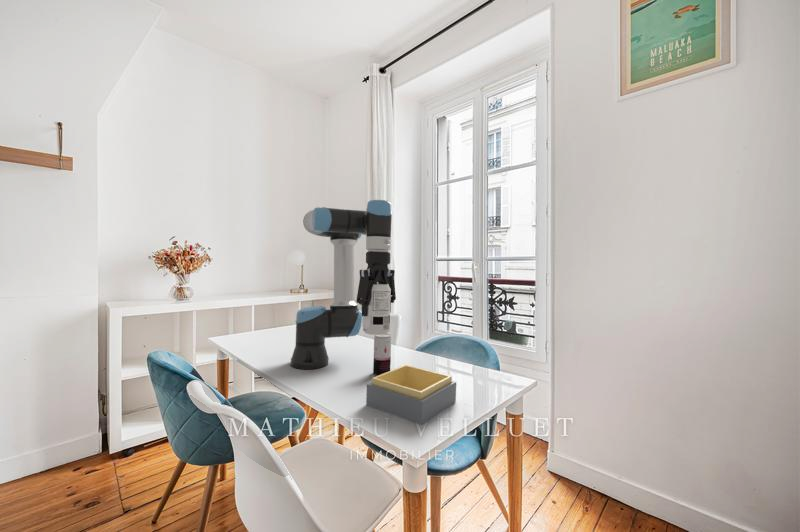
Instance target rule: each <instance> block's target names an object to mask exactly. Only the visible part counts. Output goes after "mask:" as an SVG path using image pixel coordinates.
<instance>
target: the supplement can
mask: <svg viewBox="0 0 800 532" xmlns="http://www.w3.org/2000/svg"><path fill="white" fill-rule="evenodd" d="M390 294H391V289H390V287H389V284H379V283H378V282H377V284H373V287H372V296H371V300H370V303H369V305H371V327H370V328H368V327H363V326H362V331H363V332H364V333H365V334H367V335H371V336H372V335H374V336H375V335H382V334H389V332H390V330H391V329H390V328H391V327H390V326H391V324H390V323H391V312H390ZM365 301H366V300H365Z"/></svg>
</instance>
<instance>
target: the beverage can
mask: <svg viewBox="0 0 800 532" xmlns="http://www.w3.org/2000/svg"><path fill="white" fill-rule="evenodd" d="M391 355H392V334H389V333H387V334H382V335H374V337H373V365H372V366H373V367H372V373H373V375H374V376H375V377H376V376H379V375H381V374H384V373H386V372H389V371H391V362H392V361H391V360H392V359H391V357H392V356H391Z"/></svg>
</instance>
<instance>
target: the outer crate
mask: <svg viewBox="0 0 800 532" xmlns="http://www.w3.org/2000/svg"><path fill="white" fill-rule="evenodd" d="M365 397H366V398H365V399H366V401H365V403H366V406H368V407H371V408H373V409H377V410H379V411H383V412H385V413H386V414H387V413H388V414H390V415H394V416H396V417H399V418H400V419H401V418H402V419H404V420H408V421H409V422H412V423H416V424H417V425H424V424H425V423H427V422H428V421H430V420H431V419H432V418H434V417H435V416H437V415H438V414H440V413H442V412H443V411H444V410H446V409H447V408H448V407H450V406H452V405H454V404H455V403H456V401H457V381H456V380H455V381H453V380H452V383H450V384H449V385H447V386H445V387H443V388H441V389H440V390H438V391H436V392H434V393H433V394H431V395H429V396H427V397H426V398H424V399H422V400H421V399H417V398H414V397H411V396H408V395H404V394H401V393H398V392H395V391H391V390H388V389H385V388H382V387H378V386H375V385H372V381H371V382H369V383H366V396H365Z"/></svg>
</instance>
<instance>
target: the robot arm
mask: <svg viewBox="0 0 800 532" xmlns="http://www.w3.org/2000/svg"><path fill="white" fill-rule="evenodd" d="M392 215H393V211H392V203H391V202H390V201H388V200H385V199H372V200H369V201H368V202H367V204H366V210H357V209H356V210H355V209H344V208H343V209H341V208H333V207H332V208H331V207H327V206H326V207H325V206H323V207H318V206H317V207H314V209H313V210H310V211H308V212H306V214H305V215H304V217H303V220H302V222H303V227H304V229H305V230H306V231H307V232H308V233H310V234H312V235H315V236H319V237H322V238H323V237H325V238H329V239H330V240H329V242H330V243H331V244H332V245H333V301H332V302H331V303H330V304H329V309H327V308H326V306H324V305H314V306H307V307H304V308H300V309H299V310H298V311H296V316H295V346H294V348H293V352H292V356H291V357H290V366H291V368H295V369H299V370H315V369H320V368H323V367H327V366H328V365H329V362H330V361H329V356H328V353H327V347H326V345H325V343H326V341H325V339H330V338H344V337H345V338H349V337H356V336H358V334H359V333H360V331H361V328H363V327H368V328H370V327H371V305H369V303H370V300H371V296H372V287H373V284H377V283H379V284H389V287H390V289H391V294H390V313H391V312H392V304H393V303H395V301H396V299H397V298H396V297H397V296H396V286H395V270H394V269H389V266H388V265H390V264H391V252H390V250H391V238H392V236H391V235H392ZM363 235H364V236H366V237H365V238H366V239H365V240H366V241H365V249H366V252H365V263H366V264H367V267H366V269H359V282H358V289H357V295H356V300H355V245H356V244H357V243H358V240H359V239H361V237H362V236H363ZM365 300H366V301H365ZM358 304H359V305H361V309H360V308H358Z"/></svg>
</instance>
